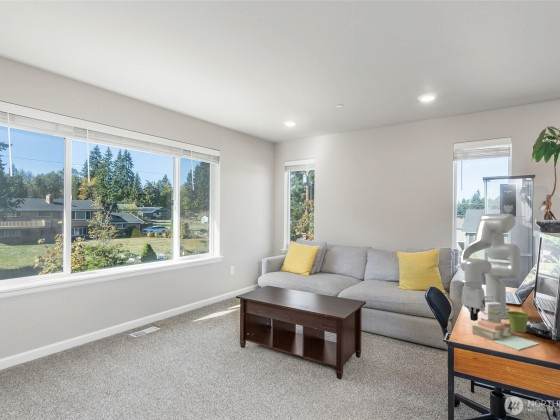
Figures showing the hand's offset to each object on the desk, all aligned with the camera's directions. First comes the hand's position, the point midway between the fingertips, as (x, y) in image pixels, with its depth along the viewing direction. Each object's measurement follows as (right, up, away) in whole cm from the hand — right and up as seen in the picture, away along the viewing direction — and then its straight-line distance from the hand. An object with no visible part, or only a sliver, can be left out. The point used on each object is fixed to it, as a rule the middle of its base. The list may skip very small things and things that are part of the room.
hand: (474, 320), depth 160 cm
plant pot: (+21, -5, -3) cm, 22 cm away
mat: (+8, -4, -18) cm, 20 cm away
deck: (+4, -4, -8) cm, 10 cm away
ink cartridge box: (+14, -5, +8) cm, 17 cm away
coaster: (+4, -1, -8) cm, 9 cm away
